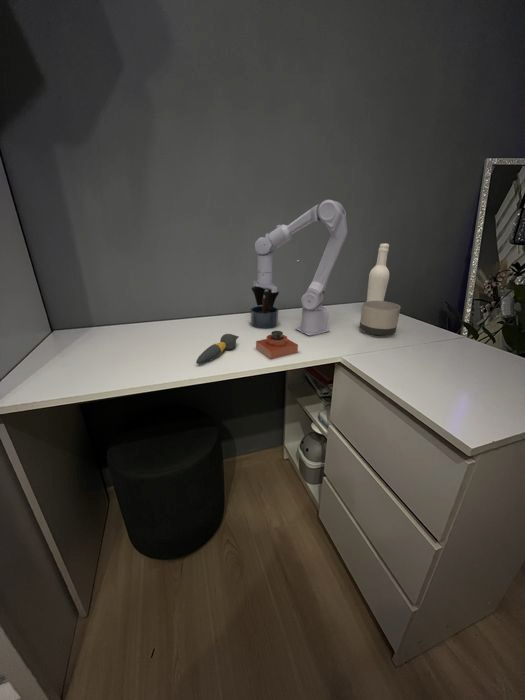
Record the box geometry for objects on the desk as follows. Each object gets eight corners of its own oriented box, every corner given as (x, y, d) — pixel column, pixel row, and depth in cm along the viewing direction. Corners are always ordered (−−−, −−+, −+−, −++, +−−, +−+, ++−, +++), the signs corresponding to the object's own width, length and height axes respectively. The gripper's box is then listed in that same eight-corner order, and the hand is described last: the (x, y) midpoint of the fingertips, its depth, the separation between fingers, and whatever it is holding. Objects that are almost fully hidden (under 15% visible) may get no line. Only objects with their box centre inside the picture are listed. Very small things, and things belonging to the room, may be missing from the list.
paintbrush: (208, 369, 83) (207, 353, 81) (193, 366, 84) (192, 349, 83) (242, 345, 99) (241, 330, 97) (229, 342, 101) (228, 328, 99)
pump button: (278, 335, 96) (278, 329, 95) (284, 339, 93) (285, 333, 92) (268, 337, 94) (269, 331, 93) (275, 341, 91) (275, 335, 90)
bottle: (359, 313, 134) (370, 242, 121) (377, 313, 134) (389, 242, 122) (367, 319, 126) (379, 244, 114) (385, 318, 127) (399, 244, 115)
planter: (372, 324, 120) (376, 299, 115) (402, 333, 110) (408, 306, 106) (351, 330, 113) (355, 303, 109) (381, 341, 103) (386, 312, 99)
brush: (266, 319, 122) (267, 296, 118) (274, 323, 118) (274, 299, 114) (254, 321, 120) (254, 297, 116) (261, 325, 115) (262, 300, 111)
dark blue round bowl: (268, 318, 126) (269, 304, 123) (283, 325, 117) (283, 311, 115) (246, 322, 121) (245, 308, 118) (259, 330, 112) (259, 315, 110)
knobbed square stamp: (281, 343, 101) (282, 330, 99) (297, 352, 94) (298, 339, 92) (255, 348, 96) (255, 335, 94) (270, 359, 89) (270, 345, 87)
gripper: (246, 269, 115) (246, 304, 120) (265, 275, 103) (265, 313, 109) (262, 268, 118) (261, 302, 123) (282, 274, 106) (281, 310, 112)
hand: (264, 307), depth 116 cm, fingers open, 7 cm apart
